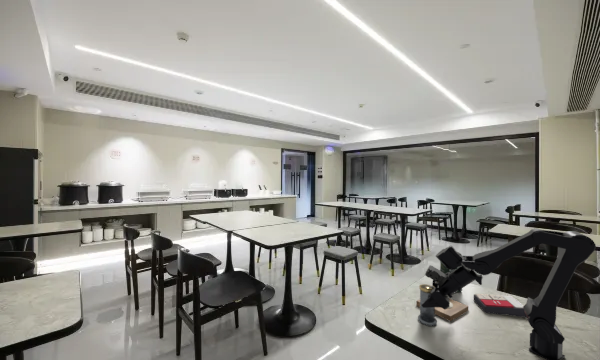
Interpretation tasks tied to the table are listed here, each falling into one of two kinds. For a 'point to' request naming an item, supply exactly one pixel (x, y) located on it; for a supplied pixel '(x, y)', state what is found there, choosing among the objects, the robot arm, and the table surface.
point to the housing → (426, 313)
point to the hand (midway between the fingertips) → (423, 301)
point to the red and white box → (499, 305)
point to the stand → (450, 310)
